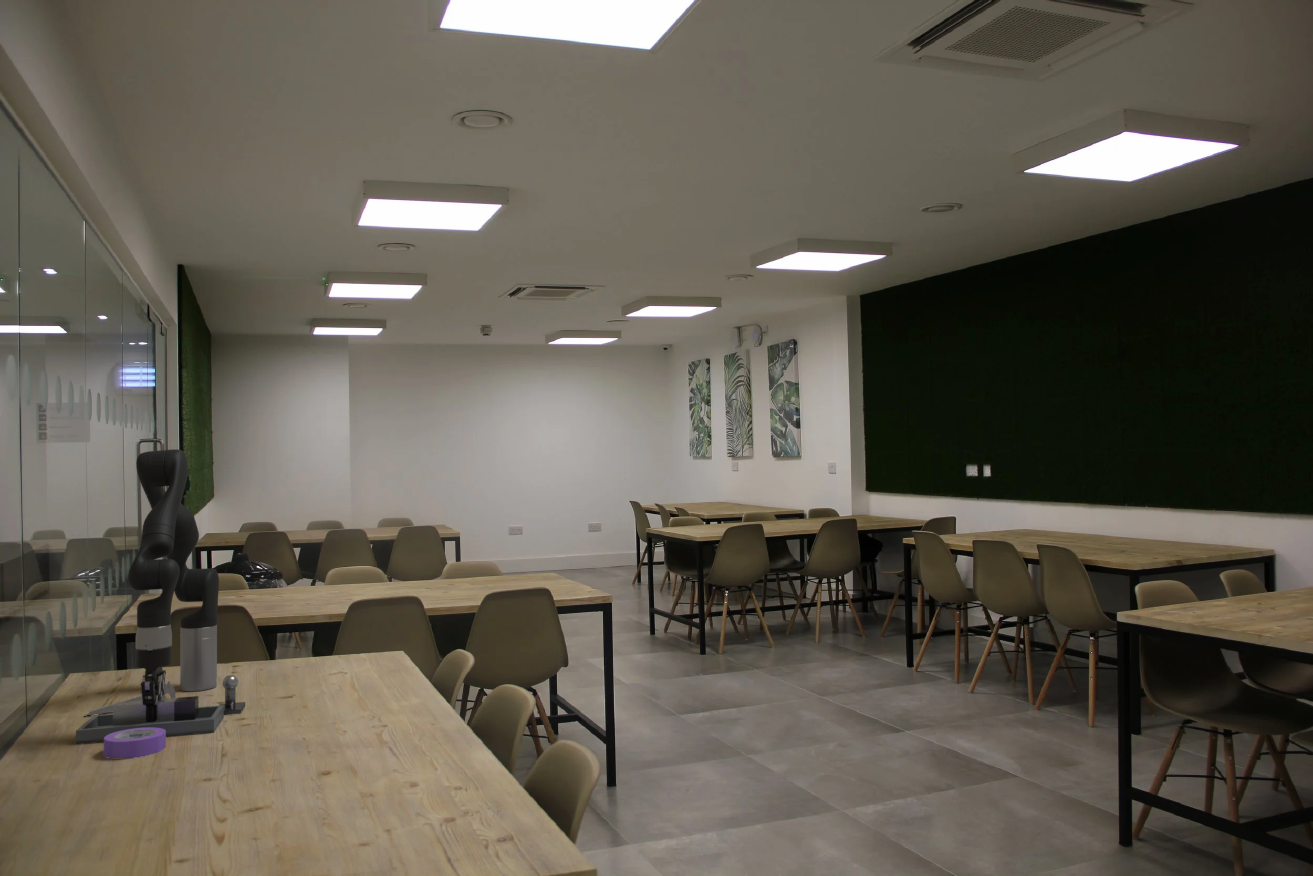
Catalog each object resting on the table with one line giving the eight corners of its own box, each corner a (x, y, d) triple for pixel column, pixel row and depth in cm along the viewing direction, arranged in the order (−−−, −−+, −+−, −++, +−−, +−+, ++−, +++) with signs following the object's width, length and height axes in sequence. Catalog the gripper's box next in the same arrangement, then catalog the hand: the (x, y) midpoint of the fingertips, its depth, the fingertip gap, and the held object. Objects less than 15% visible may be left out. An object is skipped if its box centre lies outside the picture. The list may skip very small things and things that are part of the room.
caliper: (174, 704, 243) (174, 680, 244) (175, 705, 243) (175, 680, 243) (83, 717, 231) (83, 692, 231) (84, 718, 230) (84, 692, 230)
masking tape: (149, 741, 209) (149, 724, 209) (176, 749, 202) (176, 731, 202) (93, 754, 199) (93, 736, 199) (119, 763, 192) (119, 744, 193)
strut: (117, 721, 217) (117, 702, 217) (198, 715, 222) (198, 696, 222) (112, 726, 213) (112, 706, 213) (194, 719, 218) (195, 700, 218)
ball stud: (219, 707, 237) (220, 673, 238) (245, 705, 239) (245, 671, 239) (214, 715, 230) (214, 679, 230) (240, 713, 231) (241, 677, 232)
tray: (94, 728, 220) (94, 715, 220) (223, 717, 228) (223, 705, 228) (75, 744, 206) (75, 730, 206) (213, 732, 214) (214, 719, 214)
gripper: (143, 641, 223) (142, 713, 223) (128, 651, 210) (127, 728, 209) (177, 639, 226) (177, 710, 225) (165, 649, 212) (164, 725, 211)
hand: (153, 719), depth 217 cm, fingers closed on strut, 3 cm apart
